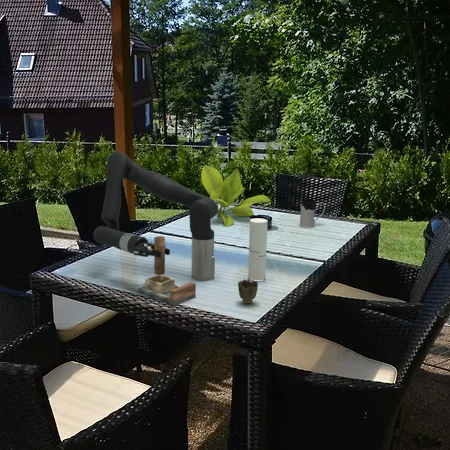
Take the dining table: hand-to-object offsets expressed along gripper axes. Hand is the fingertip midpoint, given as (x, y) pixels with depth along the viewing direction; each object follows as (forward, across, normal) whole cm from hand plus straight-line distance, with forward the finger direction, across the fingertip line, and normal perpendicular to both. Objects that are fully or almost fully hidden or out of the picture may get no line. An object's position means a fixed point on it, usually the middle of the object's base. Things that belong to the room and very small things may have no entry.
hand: (164, 253), depth 211 cm
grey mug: (-11, +130, +16) cm, 132 cm away
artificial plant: (-55, +111, +17) cm, 125 cm away
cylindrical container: (+16, +38, +16) cm, 44 cm away
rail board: (+1, 0, +16) cm, 16 cm away
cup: (+29, +14, +16) cm, 36 cm away
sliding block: (-2, 0, +15) cm, 15 cm away
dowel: (-3, 0, +8) cm, 9 cm away
